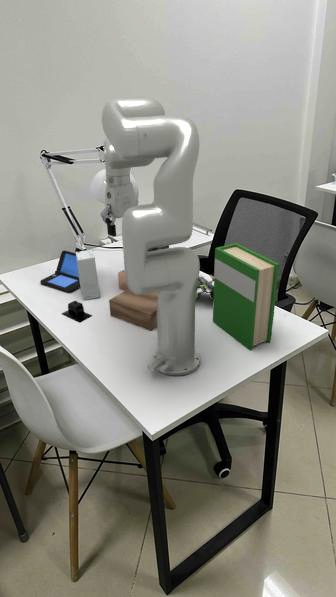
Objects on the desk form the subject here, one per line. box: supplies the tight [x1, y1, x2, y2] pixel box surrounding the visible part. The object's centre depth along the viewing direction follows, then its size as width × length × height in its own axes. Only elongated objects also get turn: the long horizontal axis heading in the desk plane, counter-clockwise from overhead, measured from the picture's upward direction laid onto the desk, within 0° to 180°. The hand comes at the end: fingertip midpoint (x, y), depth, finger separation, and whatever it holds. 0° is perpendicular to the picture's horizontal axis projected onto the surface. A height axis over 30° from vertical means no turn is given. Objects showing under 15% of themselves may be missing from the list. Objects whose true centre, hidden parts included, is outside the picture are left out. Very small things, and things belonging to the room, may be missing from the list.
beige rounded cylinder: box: [117, 269, 129, 292], centre depth 152 cm, size 5×5×6 cm
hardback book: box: [212, 242, 280, 352], centre depth 120 cm, size 18×7×24 cm, turn 29°
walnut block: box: [108, 289, 161, 332], centre depth 136 cm, size 16×16×6 cm
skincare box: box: [75, 249, 101, 301], centre depth 146 cm, size 8×6×15 cm
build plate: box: [60, 300, 93, 324], centre depth 136 cm, size 12×7×5 cm, turn 51°
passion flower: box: [195, 274, 214, 301], centre depth 141 cm, size 11×11×12 cm
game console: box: [39, 250, 81, 294], centre depth 156 cm, size 16×14×9 cm
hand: (121, 231), depth 144 cm, fingers open, 9 cm apart
